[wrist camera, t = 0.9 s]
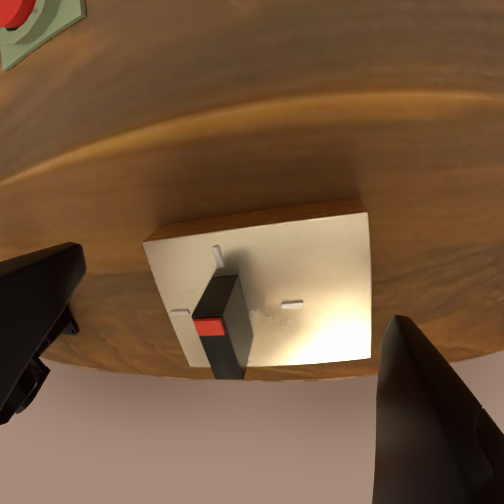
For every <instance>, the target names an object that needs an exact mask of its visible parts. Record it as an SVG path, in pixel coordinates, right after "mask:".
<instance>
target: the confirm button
mask: <svg viewBox="0 0 504 504" xmlns="http://www.w3.org/2000/svg"><path fill="white" fill-rule="evenodd" d="M35 3H36V0H0V27H5V28H17V27H19V26H21V25H23V24H24V23H25V22H26V20H27V19H28V17H29V16H30V14H31V13H32V11H33V9H34V6H35Z"/></svg>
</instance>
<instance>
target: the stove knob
mask: <svg viewBox="0 0 504 504" xmlns="http://www.w3.org/2000/svg"><path fill="white" fill-rule="evenodd" d="M191 317H192V320H193V322H194V325H195V328H196V330H197V333H198V336H199V338H200V341H201V343H202V346H203V349H204V351H205V354H206V356H207V359H208V361H209V364H210V366H211V369H212V371H213V374H214V376H215V379H244V375H245V371H246V367H247V363H248V359H249V355H250V351H251V346H252V342H253V338H254V337H253V333H252V329H251V326H250V322H249V318H248V314H247V310H246V306H245V303H244V299H243V295H242V291H241V287H240V283H239V279H238V276H232V277H222V278H211V279H210V281H209V283H208V285H207V287H206V288H205V290H204V292H203V294H202V296H201V298H200V300H199V302H198V304H197V306H196V308H195V310H194V311H193V313H192V315H191Z"/></svg>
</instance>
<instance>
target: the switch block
mask: <svg viewBox="0 0 504 504" xmlns="http://www.w3.org/2000/svg"><path fill="white" fill-rule="evenodd" d="M84 17H86V8H85V0H36V3H35V6H34V9H33V11H32V13H31V14H30V16H29V17H28V19H27V20H26V22H25V23H24V24H23V25H21V26H19V27H17V28H5V27H0V44H1V58H2V68H3V71H9V70H10V69H11V68H12V67H13V66H15V65H16V64H17V63H18V62H20V61H21V60H22V59H23V58H25V57H26V56H27V55H29V54H30V53H31V52H33V51H34V50H35V49H37V48H38V47H40V46H41V45H42V44H44V43H45V42H47V41H48V40H50V39H51V38H52V37H54V36H55V35H57V34H58V33H60V32H62V31H63V30H65V29H66V28H68V27H69V26H71V25H73V24H74V23H76V22H78V21H79V20H81V19H83V18H84Z"/></svg>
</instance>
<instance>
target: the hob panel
mask: <svg viewBox="0 0 504 504" xmlns="http://www.w3.org/2000/svg"><path fill="white" fill-rule="evenodd" d="M142 246H143V249H144V252H145V255H146V258H147V260H148V263H149V266H150V269H151V271H152V274H153V277H154V280H155V282H156V285H157V288H158V290H159V293H160V295H161V298H162V301H163V303H164V306H165V308H166V311H167V313H168V316H169V318H170V321H171V323H172V326H173V328H174V330H175V333H176V335H177V337H178V340H179V342H180V344H181V347H182V349H183V351H184V354H185V356H186V358H187V360H188V363H189V365H190V367H211V366H210V364H209V361H208V359H207V356H206V354H205V351H204V349H203V346H202V343H201V341H200V338H199V336H198V333H197V330H196V328H195V325H194V322H193V320H192V317H191V315H192V313H193V311H194V310H195V308H196V306H197V304H198V302H199V300H200V298H201V296H202V294H203V292H204V290H205V288H206V287H207V285H208V283H209V281H210V279H211V278H222V277H232V276H238V279H239V283H240V287H241V291H242V295H243V299H244V303H245V306H246V310H247V314H248V318H249V322H250V326H251V329H252V333H253V337H254V338H253V342H252V346H251V351H250V355H249V359H248V363H247V367H260V366H283V365H299V364H313V363H325V362H336V361H346V360H355V359H364V358H370V357H371V340H372V273H371V248H370V230H369V216H368V211H367V209H366V208H365V206H364V204H363V202H362V200H361V199H360V197H358V198H349V199H341V200H332V201H324V202H316V203H309V204H301V205H293V206H286V207H279V208H272V209H265V210H258V211H251V212H244V213H237V214H231V215H224V216H218V217H211V218H205V219H199V220H193V221H187V222H181V223H175V224H169V225H163V226H159V227H158V228H157V229H156V230H155V231H154V232H153V233H152V234H151V235H149V236H148V237H147V238H146V239H145V240H144V241H143V242H142Z"/></svg>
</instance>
